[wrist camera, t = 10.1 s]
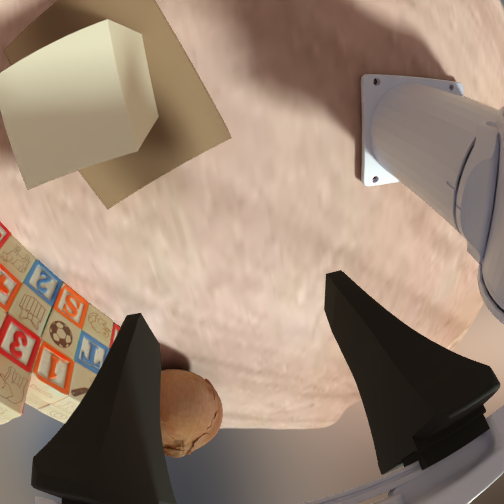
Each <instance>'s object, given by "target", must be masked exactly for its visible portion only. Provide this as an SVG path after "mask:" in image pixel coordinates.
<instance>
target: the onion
mask: <svg viewBox="0 0 504 504" xmlns="http://www.w3.org/2000/svg"><path fill="white" fill-rule="evenodd" d="M222 417H223V409H222V403H221V400H220V398H219V396H218V394H217V392H216V390H215V389H214V387H213V386H212V384H211V383H210V382H209V380H207V379H205V380H204V379H203V378H202V377H200V376H199V375H197V374H195V373H192V372H189V371H186V370H183V369H181V368H180V370H178V369H165V370H161V390H160V425H161V434H162V442H163V448H164V454H167V456H169V455H170V456H172V457H183V456H184V455H185V454H191V452H192V451H194V450H196V449H198V448H200V447H201V446H203V445H205V444H206V443H207V442H209V441H210V440H211V439H212V438H213V437H214V436H215V435H216V434H217V432H218V430H219V428H220V426H221V423H222Z"/></svg>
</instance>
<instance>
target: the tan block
mask: <svg viewBox="0 0 504 504" xmlns="http://www.w3.org/2000/svg"><path fill="white" fill-rule="evenodd" d="M107 19H109V20H111V21H113V22H116V23H118V24H120V25H123V26H125V27H127V28H129V29H132V30H134V31H136V32H138V33H140V34H142V38H143V43H144V49H145V54H146V59H147V64H148V69H149V74H150V79H151V84H152V88H153V93H154V98H155V102H156V107H157V111H158V115H159V117H158V119H157V120H156V122H155V123H154V125H153V126H152V128H151V130H150V131H149V133H148V135H147V136H146V138H145V140H144V141H143V143H142V145H141V146H140V148H139V150H138V151H137V152H134V153H130V154H127V155H124V156H120V157H117V158H114V159H111V160H107V161H104V162H101V163H98V164H95V165H92V166H89V167H86V168H83V169H81V170H78V171H79V172H80V173H81V175H82V176H83V177H84V179H85V180H86V182H87V183H88V184H89V186H90V187H91V188H92V190H93V191H94V192H95V194H96V195H97V196H98V197H99V199H100V200H101V201H102V203H103V204H104V205H105V207H106V208H107V209H109V208H111V207H112V206H114V205H115V204H117V203H119V202H120V201H122V200H123V199H125V198H126V197H128V196H129V195H131V194H133V193H134V192H136V191H137V190H139V189H141V188H142V187H144V186H145V185H147V184H149V183H150V182H152V181H154V180H155V179H157V178H159V177H160V176H162V175H164V174H166V173H167V172H169V171H171V170H172V169H174V168H176V167H178V166H179V165H181V164H183V163H185V162H187V161H188V160H190V159H192V158H194V157H196V156H198V155H199V154H201V153H203V152H205V151H207V150H209V149H211V148H213V147H215V146H217V145H218V144H220V143H222V142H224V141H226V140H228V139H230V138H231V135H230V133H229V131H228V128H227V126H226V125H225V123H224V121H223V119H222V117H221V115H220V113H219V112H218V110H217V108H216V106H215V104H214V102H213V101H212V99H211V97H210V95H209V93H208V91H207V90H206V88H205V86H204V84H203V82H202V81H201V79H200V77H199V75H198V73H197V72H196V70H195V68H194V66H193V65H192V63H191V61H190V59H189V58H188V56H187V54H186V52H185V51H184V49H183V47H182V45H181V44H180V42H179V40H178V38H177V37H176V35H175V33H174V32H173V30H172V28H171V26H170V25H169V23H168V21H167V20H166V18H165V16H164V15H163V13H162V11H161V10H160V8H159V6H158V5H157V3H156V1H155V0H58V1H57V2H56V3H54V4H53V5H52V6H51V7H50V8H48V9H47V10H46V11H45V12H44V13H43V14H41V15H40V16H39V17H38V18H37V19H36V20H35V21H34V22H33V23H31V24H30V25H29V26H28V27H27V28H26V29H25V30H24V31H23V32H22V33H21V34H20V35H19V36H18V37H17V38H16V39H15V40H14V41H13V42H12V43H11V44H10V45H9V46H8V47H7V48H6V49H5V51H4V53H5V55H6V56H7V58H8V60H9V62H10V64H11V66H12V65H13V64H15V63H17V62H18V61H20V60H22V59H23V58H25V57H27V56H29V55H30V54H32V53H34V52H36V51H37V50H39V49H41V48H43V47H45V46H47V45H49V44H51V43H53V42H55V41H57V40H59V39H61V38H63V37H65V36H67V35H70V34H72V33H74V32H76V31H79V30H81V29H83V28H86V27H88V26H91V25H93V24H96V23H98V22H101V21H104V20H107Z"/></svg>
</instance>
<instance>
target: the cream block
mask: <svg viewBox="0 0 504 504" xmlns="http://www.w3.org/2000/svg"><path fill="white" fill-rule="evenodd" d="M0 111H1V115H2V118H3V122H4V125H5V129H6V132H7V135H8V138H9V141H10V144H11V147H12V150H13V153H14V156H15V159H16V162H17V164H18V167H19V170H20V172H21V175H22V177H23V180H24V182H25V185H26V187H27V190H29V189H31V188H34V187H36V186H39V185H41V184H44V183H46V182H48V181H51V180H54V179H56V178H59V177H61V176H64V175H67V174H69V173H72V172H75V171H78V170H81V169H83V168H86V167H89V166H92V165H95V164H98V163H101V162H104V161H107V160H111V159H114V158H117V157H120V156H124V155H127V154H130V153H134V152H137V151H138V150H139V148H140V146H141V145H142V143H143V141H144V140H145V138H146V136H147V135H148V133H149V131H150V130H151V128H152V126H153V125H154V123H155V122H156V120H157V119H158V117H159V115H158V111H157V107H156V102H155V98H154V93H153V88H152V84H151V79H150V74H149V69H148V64H147V59H146V54H145V49H144V43H143V38H142V34H140V33H138V32H136V31H134V30H132V29H129V28H127V27H125V26H123V25H120V24H118V23H116V22H113V21H111V20H109V19H107V20H104V21H101V22H98V23H96V24H93V25H91V26H88V27H86V28H83V29H81V30H79V31H76V32H74V33H72V34H70V35H67V36H65V37H63V38H61V39H59V40H57V41H55V42H53V43H51V44H49V45H47V46H45V47H43V48H41V49H39V50H37V51H36V52H34V53H32V54H30V55H29V56H27V57H25V58H23V59H22V60H20V61H18V62H17V63H15V64H13V65H12V66H10V67H9V68H7V69H5V70H4V71H2V72H1V73H0Z"/></svg>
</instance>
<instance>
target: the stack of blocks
mask: <svg viewBox="0 0 504 504" xmlns="http://www.w3.org/2000/svg"><path fill="white" fill-rule="evenodd" d="M120 328H121V327H119V326H118V325H116V324H115V323H113V321H112V320H111V319H110V318H108V317H107V316H106V315H104V314H103V313H102V312H100V311H99V310H98V309H97V308H95V307H94V306H92V305H91V304H89V303H88V302H87V301H86V300H85V299H84V298H83V297H81V296H80V295H79V294H78V293H76V292H75V291H74V290H73V289H72V288H70V287H69V286H68V285H67V284H66V283H64V282H62V281H61V280H60V279H59V278H58V277H57V276H56V275H54V274H53V273H52V272H51V271H50V270H49V269H47V268H46V267H45V266H44V265H43V264H42V263H41V262H40V261H39V260H37V259H36V258H35V257H34V256H33V255H32V254H31V253H30V252H29V251H28V250H27V249H26V248H25V247H24V246H23V245H22V244H21V243H20V242H19V241H18V240H17V239H16V238H15V237H14V236H12V235H11V233H10V232H9V231H8V229H7V228H6V227H5V226H4V225H3V224H2V223H1V222H0V425H1V424H4V423H6V422H8V421H10V420H11V419H13V418H16V417H19V416H21V415H22V413H23V409H24V404H25V403H26V404H28V405H30V406H32V407H34V408H36V409H37V410H39V411H40V412H42V413H44V414H46V415H48V416H50V417H52V418H54V419H56V420H58V421H61V422H63V423H66V421H67V420H68V419H69V417H70V416H71V415H72V413H73V412H74V411H75V409H76V408H77V406H78V405H79V404H80V402H81V401H82V399H83V397H84V396H85V394H86V393H87V391H88V389H89V388H90V386H91V384H92V382H93V381H94V379H95V377H96V375H97V373H98V371H99V370H100V368H101V366H102V364H103V362H104V360H105V358H106V356H107V354H108V352H109V350H110V348H111V346H112V344H113V342H114V340H115V338H116V336H117V334H118V332H119V330H120Z"/></svg>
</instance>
